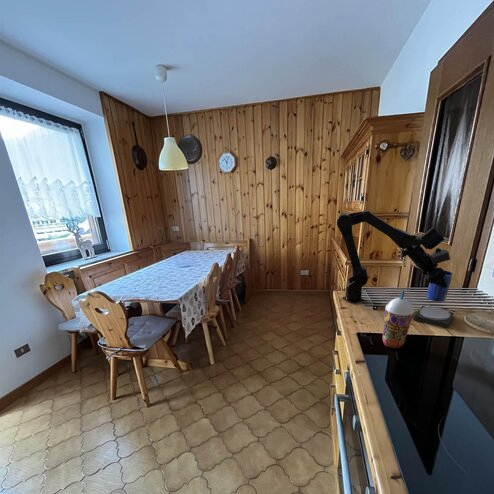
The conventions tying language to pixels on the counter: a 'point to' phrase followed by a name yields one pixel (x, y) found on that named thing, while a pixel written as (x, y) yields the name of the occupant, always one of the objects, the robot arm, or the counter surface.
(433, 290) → the tumbler
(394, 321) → the smoothie
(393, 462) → the counter surface
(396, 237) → the robot arm
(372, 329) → the counter surface
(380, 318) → the counter surface
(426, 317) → the scale
